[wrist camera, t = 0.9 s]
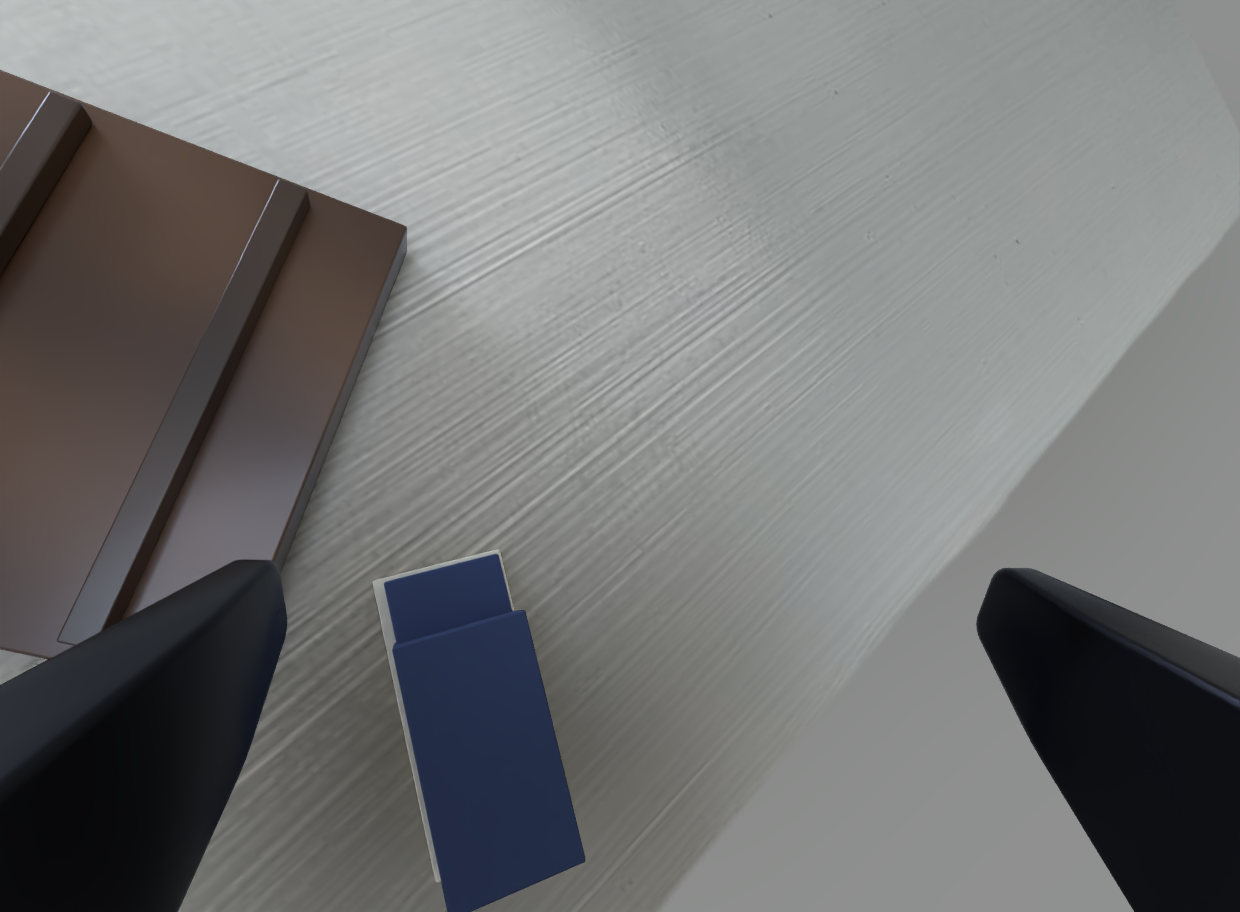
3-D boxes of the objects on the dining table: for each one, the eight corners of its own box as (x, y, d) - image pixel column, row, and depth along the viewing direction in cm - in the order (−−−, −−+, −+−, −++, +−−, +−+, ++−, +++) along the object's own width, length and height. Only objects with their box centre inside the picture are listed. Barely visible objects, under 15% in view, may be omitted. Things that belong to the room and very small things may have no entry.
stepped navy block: (559, 819, 19) (597, 867, 16) (434, 871, 18) (442, 936, 14) (495, 551, 21) (515, 537, 17) (373, 582, 19) (366, 573, 16)
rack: (234, 690, 18) (211, 700, 16) (-330, 569, 15) (-453, 560, 13) (407, 250, 22) (407, 211, 20) (-9, 93, 19) (-61, 28, 17)
